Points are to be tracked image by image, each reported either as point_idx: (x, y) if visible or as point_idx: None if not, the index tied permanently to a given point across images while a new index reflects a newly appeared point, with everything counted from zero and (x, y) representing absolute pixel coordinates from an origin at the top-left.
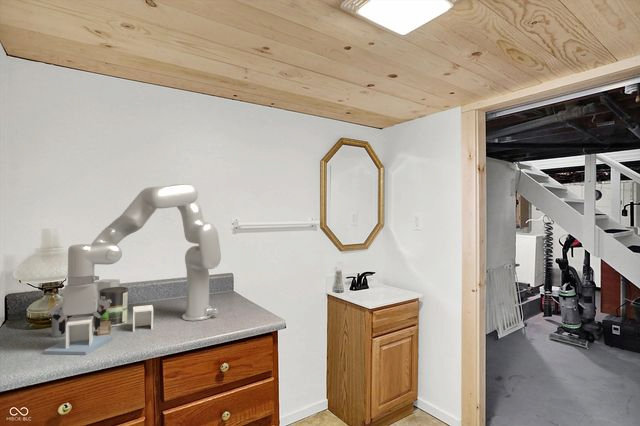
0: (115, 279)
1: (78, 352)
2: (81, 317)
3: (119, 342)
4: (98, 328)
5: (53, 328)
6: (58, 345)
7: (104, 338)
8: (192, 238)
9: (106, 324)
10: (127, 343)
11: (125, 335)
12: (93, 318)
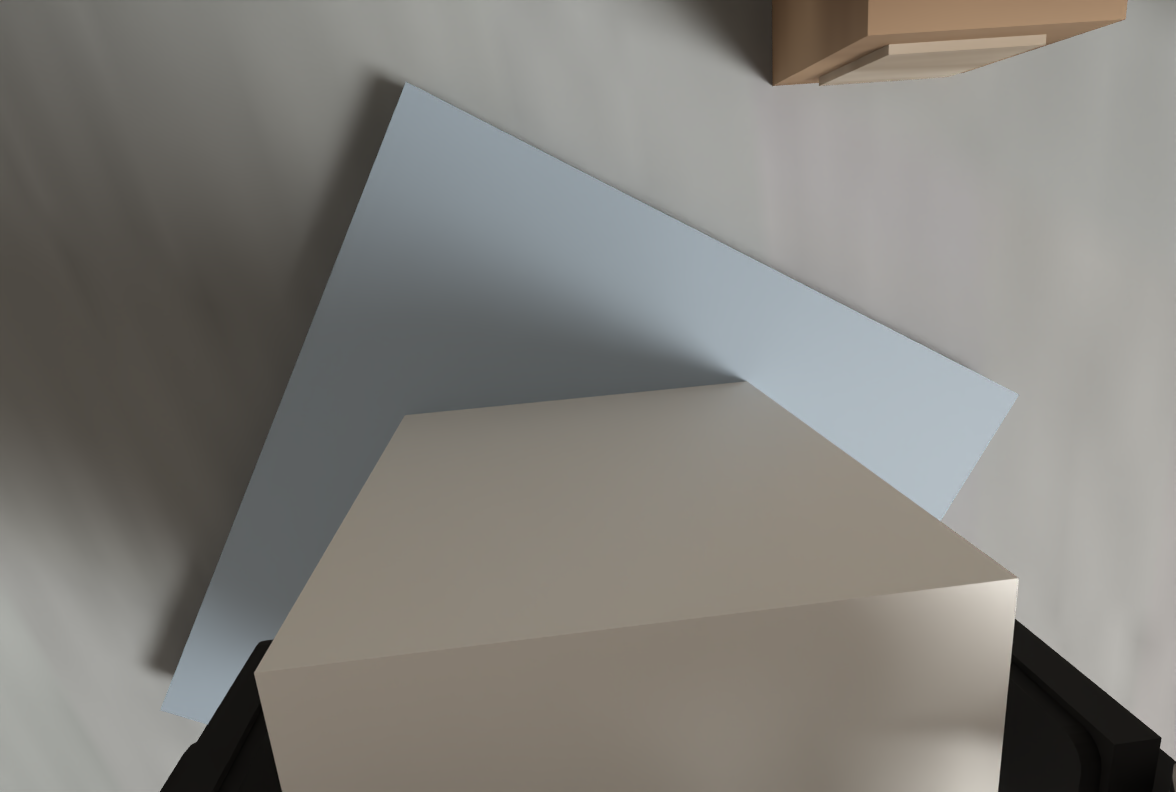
0: None
1: None
2: (652, 656)
3: (1058, 545)
4: (845, 53)
5: None
6: (300, 550)
7: (907, 449)
8: None
9: (1043, 27)
10: (1139, 614)
11: (1165, 254)
12: (958, 534)
